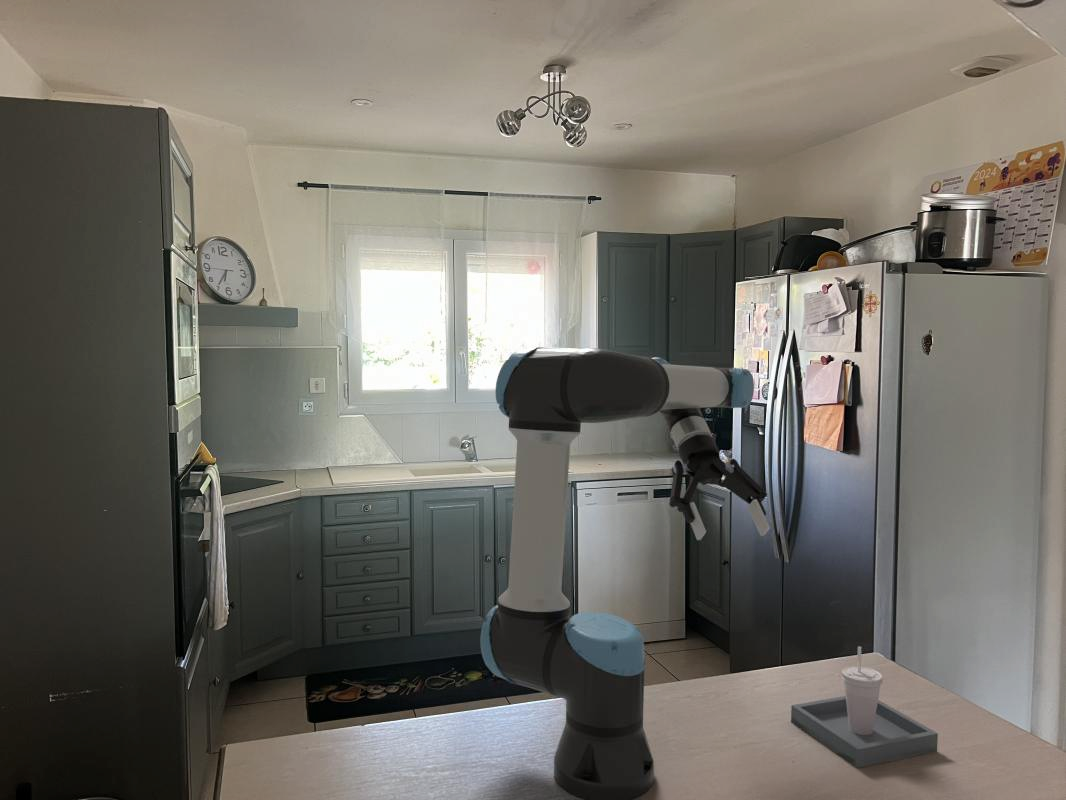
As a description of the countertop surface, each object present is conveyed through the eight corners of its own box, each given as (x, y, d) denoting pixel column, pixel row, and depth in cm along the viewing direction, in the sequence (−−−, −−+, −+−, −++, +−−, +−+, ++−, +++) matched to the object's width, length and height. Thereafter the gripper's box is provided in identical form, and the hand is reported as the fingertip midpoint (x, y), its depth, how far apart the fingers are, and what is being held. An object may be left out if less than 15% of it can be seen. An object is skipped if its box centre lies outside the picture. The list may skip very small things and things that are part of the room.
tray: (857, 768, 122) (858, 749, 122) (791, 722, 137) (791, 705, 137) (937, 751, 127) (937, 733, 127) (864, 708, 143) (865, 692, 142)
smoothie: (852, 717, 137) (854, 638, 136) (888, 730, 132) (890, 648, 131) (833, 728, 133) (834, 647, 132) (870, 743, 128) (872, 658, 127)
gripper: (740, 454, 166) (781, 540, 153) (633, 457, 158) (666, 548, 145) (756, 431, 161) (800, 519, 148) (645, 433, 153) (681, 526, 140)
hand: (734, 534), depth 146 cm, fingers open, 13 cm apart
